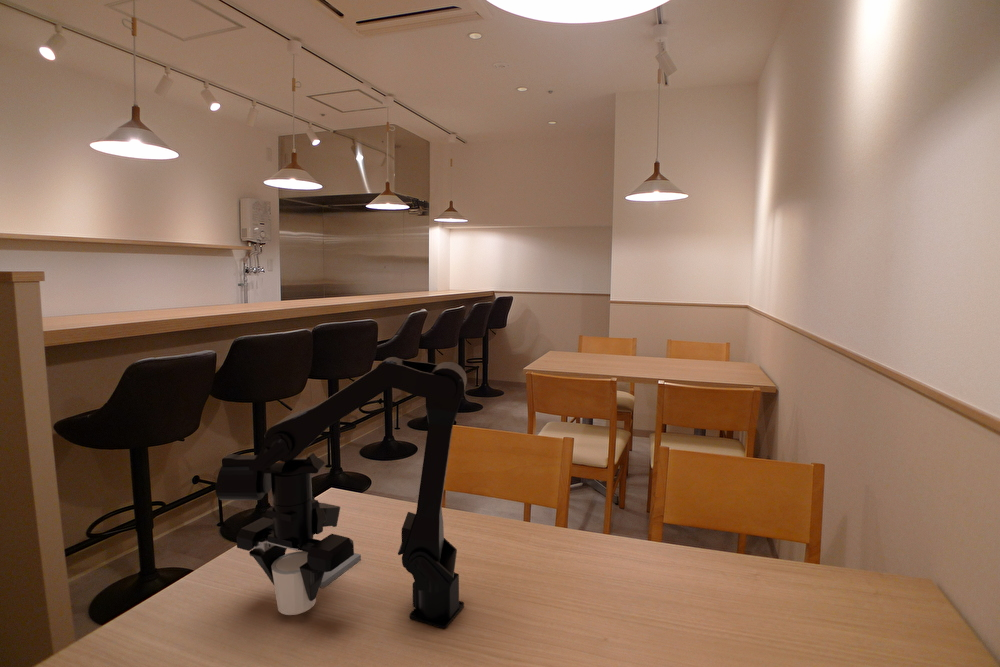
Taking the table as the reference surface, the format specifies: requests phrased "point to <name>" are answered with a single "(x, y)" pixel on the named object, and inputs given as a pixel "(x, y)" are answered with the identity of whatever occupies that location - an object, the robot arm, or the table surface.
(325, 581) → the slate plate
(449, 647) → the table surface
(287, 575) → the white cup
